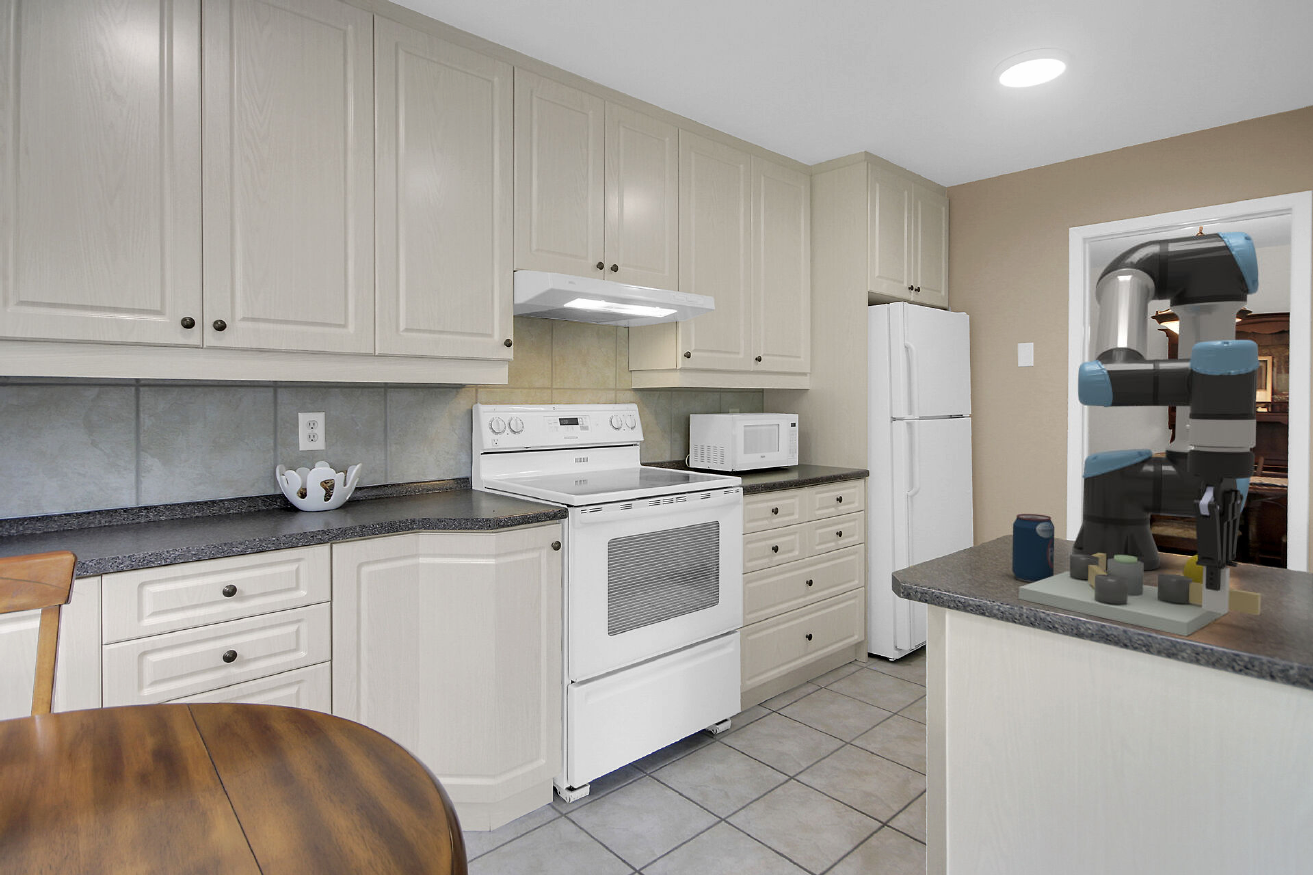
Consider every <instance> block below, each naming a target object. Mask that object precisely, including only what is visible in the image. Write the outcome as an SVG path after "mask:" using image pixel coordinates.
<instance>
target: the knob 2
mask: <svg viewBox="0 0 1313 875" xmlns="http://www.w3.org/2000/svg"><path fill="white" fill-rule="evenodd" d="M1157 587H1158V593H1157V597H1158V598H1159V599H1161V600H1164V601H1168V602H1174V603H1195V604H1201V605H1202V592H1203V584H1201V583H1195V582H1192V578H1190V577H1186V576H1183V574H1182V575H1181V574H1174V573H1160V574H1158V575H1157ZM1261 598H1262V593H1257V592H1252V591H1248V590H1241V589H1235V588H1230V587H1229V604H1228V611H1233V612H1237V613H1243V614H1249V615H1252V616H1253V615H1254V616H1259V615H1261V601H1262V600H1261Z"/></svg>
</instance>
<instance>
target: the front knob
mask: <svg viewBox="0 0 1313 875" xmlns="http://www.w3.org/2000/svg"><path fill="white" fill-rule="evenodd" d="M1088 582H1089V583H1090V584H1091V585H1092V586H1093V587H1094V588H1095V597H1094V598H1095V599H1096V600H1099V601H1102V602H1107V603H1115V604H1123V603H1127V598H1128V579H1127V578H1125V577H1121V576H1116V575H1108V574H1107V572H1106V571H1105V570H1104V571H1103V570H1102V569H1100V568H1099V567H1098V566H1097V565H1088Z"/></svg>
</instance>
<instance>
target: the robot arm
mask: <svg viewBox="0 0 1313 875" xmlns="http://www.w3.org/2000/svg"><path fill="white" fill-rule="evenodd" d="M1255 247H1256V246H1255V243H1254V241H1253V238H1252V237H1251V235H1249V234H1248V233H1247V232H1243V231H1232V232H1230V231H1228V232H1214V233H1206V234H1201V235H1200V234H1198V235H1190V236H1182V237H1175V238H1174V237H1173V238H1165V239H1154V240H1148V241H1145V242H1141V243H1139V244H1136V245H1134V246H1132V247H1130V248H1129V249H1127V250H1124V251H1123V252H1122V253H1120V254H1119V255H1118V256H1116V257H1115V258H1114V259H1113V260H1112V261H1110V262H1109V263H1108V265H1106V267H1105V268H1104V269H1103V271H1102V272H1101V274H1100V275H1099V277H1098V278H1097V282H1096V285H1095V299H1096V302H1097V304H1098V305H1099V315H1098V324H1097V334H1096V342H1095V351H1094V352H1095V353H1094V359H1093V360H1092V361H1085V362H1082V363H1081V364H1080V366H1079V367H1078V372H1077V373H1078V374H1077V376H1078V377H1077V397H1078V401H1079V403H1080V404H1082V405H1083V406H1088V407H1103V408H1111V407H1112V408H1114V407H1115V408H1116V407H1120V408H1121V407H1176V409H1175V411H1176V412H1175V416H1176V417H1175V435H1174V436H1175V438H1174V440H1173V441H1172V442H1171V443H1169V444H1168V445H1167V446H1166V447H1165V456H1154V453H1153V452H1152V450H1151V449H1149V448H1138V449H1136V448H1133V449H1120V450H1119V449H1118V450H1109V451H1103V452H1102V451H1100V452H1096V453H1091V454H1090V455H1088V456H1086V458H1085V460H1084V464H1083V465H1084V467H1083V474H1082V479H1083V496H1082V523H1081V525H1080V529H1079V530H1078V533H1077V536H1076V538H1075V541H1074V543H1073V545H1072V549H1071V550H1072V551H1071V555H1073V554H1083V555H1094V554H1097V553H1104V554H1106V569H1107V566H1108V559H1113V558H1114V556H1115V555H1128V556H1134V557H1136V558H1137V561H1140V562H1142V563H1144V571H1151V570H1156V569H1158V568H1160V554H1159V550H1158V548H1157V545H1156V542H1155V539H1154V537H1153V533H1152V531H1151V521H1150V520H1151V515H1155V516H1156V515H1158V516H1169V517H1171V516H1172V517H1186V518H1187V517H1188V518H1194V519H1195V532H1196V536H1195V537H1196V551H1197V552H1196V555H1198V559H1197V560H1198V561H1196V565H1201V566H1203V592H1202V610H1207V611H1212V612H1217V613H1222V614H1224V615H1226V614H1228V613H1227V612H1229V610H1228V604H1229V588H1230V572H1231V568H1230V567H1233V568H1237V567H1238V564H1239V563H1238V562H1236V561H1234V560H1236V557H1237V555H1236V552H1237V546H1238V545H1237V544H1238V536H1239V535H1238V534H1239V528H1240V518H1241V513H1242V512H1243V509H1244V507H1245V504H1246V501H1247V498H1248V497H1247V496H1248V492H1249V489H1250V488H1249V487H1250V481H1251V478H1252V477H1254V475H1255V458H1256V457H1255V455H1256V454H1255V453H1254V452H1253V451H1251V450H1250V449H1253V448H1254V447H1256V445H1257V444H1256V443H1257V442H1256V438H1257V437H1256V436H1257V430H1256V429H1257V428H1256V427H1257V419H1256V418H1257V414H1256V409H1257V408H1256V407H1257V405H1256V404H1257V393H1258V371H1259V367H1260V363H1261V362H1260V360H1259V346H1258V344H1257V343H1256V342H1255V341H1253V340H1251V339H1236V326H1237V325H1236V323H1237V314H1238V312H1239V311H1240V310H1242V309H1243V308H1244V307H1246V305H1247V304H1248V295H1249V296H1251V295H1253V294H1256V293H1257V292H1258V291H1259V285H1260V284H1259V266H1258V258H1257V257H1258V256H1257V252H1256V248H1255ZM1166 300H1167V301H1168V300H1169V310H1171V312H1173V313H1174V314H1175V315H1176V316H1177V317H1178V344H1177V345H1178V346H1177V347H1178V349H1177V358H1167V359H1166V358H1165V359H1159V358H1155V359H1148V323H1149V322H1148V318H1149V303H1150V302H1152V301H1166Z"/></svg>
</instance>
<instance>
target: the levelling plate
mask: <svg viewBox="0 0 1313 875" xmlns="http://www.w3.org/2000/svg"><path fill="white" fill-rule="evenodd" d="M1106 569H1107V571H1106V573H1107V574H1108V575H1116V576H1121V577H1125V578H1127V579H1128V598H1127V603H1123V604H1115V603H1107V602H1102V601H1099V600H1096V599H1095V598H1094V597H1095V588H1094V587H1093V586H1092V585H1091V584H1090V583H1089V582H1088V579H1079V578H1075V577H1072V576H1070V570H1067V571H1064V572H1061V573H1058V574H1055V575H1053V576H1052V577H1049V578H1046V579H1043V580H1040V581H1037V582H1034V583H1033V582H1030V583H1028V584H1025V585H1023V586H1019V587H1018V599H1019V600H1022V601H1026V602H1031V603H1035V604H1040V605H1045V606H1048V607H1054V608H1058V609H1062V610H1066V611H1072V612H1076V613H1081V614H1085V615H1089V616H1093V617H1098V618H1103V619H1108V620H1111V621H1115V622H1121V623H1125V624H1129V625H1134V626H1138V627H1143V628H1147V629H1151V630H1157V631H1161V632H1165V633H1169V634H1170V633H1171V634H1174V635H1179V636H1182V637H1187V636H1190V635H1191V634H1193V633H1194V632H1197V631H1199V630H1200V629H1201V628H1203V627H1205V626H1207V625H1209V624H1210V623H1212V622H1214V621H1215V619H1216V620H1218V619H1219V618H1221V617H1223V616H1224V615H1225V614H1222V613H1217V612H1212V611H1207V610H1202V605H1201V604H1195V603H1174V602H1168V601H1164V600H1161V599H1159V598H1158V597H1157V593H1158V586H1153V585H1145V584H1144V571H1145V570H1144V563H1142V562H1140V561H1137V558H1136V557H1134V556H1128V555H1115V556H1114V558H1113V559H1108V566H1107V568H1106ZM1228 612H1229V611H1228ZM1228 612H1227V613H1226V614H1228ZM1208 623H1209V624H1208Z"/></svg>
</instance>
